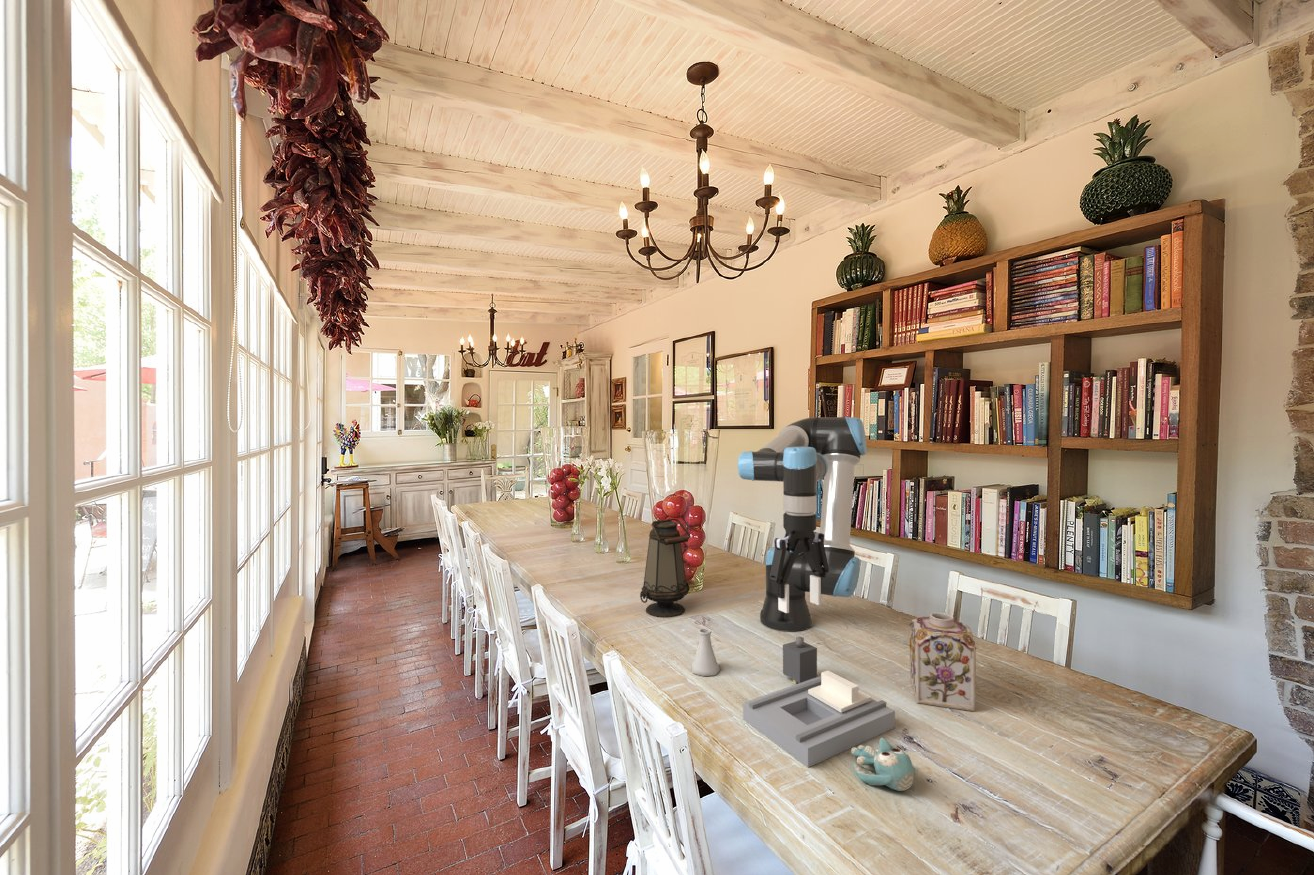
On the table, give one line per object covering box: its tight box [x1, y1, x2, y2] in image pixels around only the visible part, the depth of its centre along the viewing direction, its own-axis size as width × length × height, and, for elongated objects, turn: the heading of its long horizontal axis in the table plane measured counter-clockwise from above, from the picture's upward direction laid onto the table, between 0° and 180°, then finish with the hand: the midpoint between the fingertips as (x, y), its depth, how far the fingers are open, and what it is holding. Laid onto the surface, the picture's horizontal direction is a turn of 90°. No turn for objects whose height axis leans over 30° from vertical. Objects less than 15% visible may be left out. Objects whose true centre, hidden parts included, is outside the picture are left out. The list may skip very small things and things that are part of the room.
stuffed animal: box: [850, 737, 915, 792], centre depth 94 cm, size 11×7×12 cm
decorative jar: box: [909, 611, 977, 712], centre depth 120 cm, size 12×12×18 cm
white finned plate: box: [808, 669, 872, 713], centre depth 112 cm, size 9×9×4 cm
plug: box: [782, 636, 818, 684], centre depth 127 cm, size 6×6×10 cm
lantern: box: [639, 517, 691, 619], centre depth 175 cm, size 18×15×30 cm
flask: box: [690, 627, 721, 677], centre depth 133 cm, size 7×7×10 cm
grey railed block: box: [742, 675, 896, 768], centre depth 109 cm, size 24×18×4 cm
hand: (799, 607), depth 127 cm, fingers open, 9 cm apart
